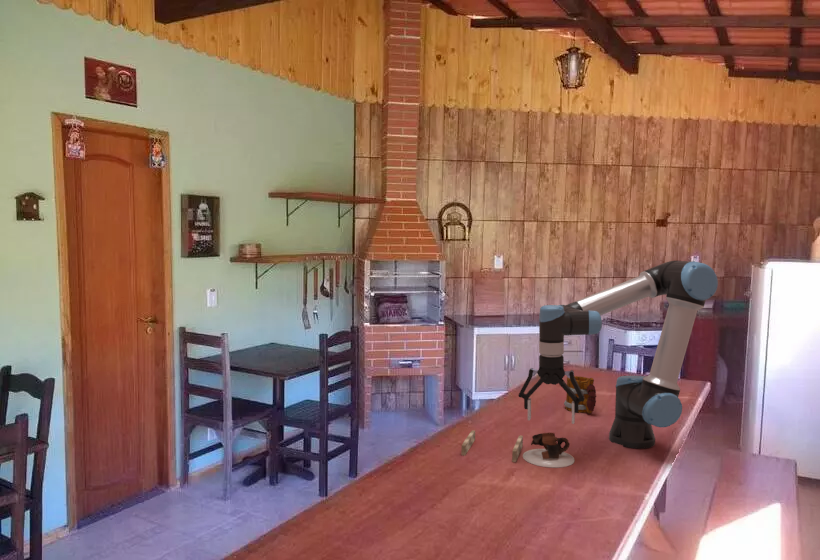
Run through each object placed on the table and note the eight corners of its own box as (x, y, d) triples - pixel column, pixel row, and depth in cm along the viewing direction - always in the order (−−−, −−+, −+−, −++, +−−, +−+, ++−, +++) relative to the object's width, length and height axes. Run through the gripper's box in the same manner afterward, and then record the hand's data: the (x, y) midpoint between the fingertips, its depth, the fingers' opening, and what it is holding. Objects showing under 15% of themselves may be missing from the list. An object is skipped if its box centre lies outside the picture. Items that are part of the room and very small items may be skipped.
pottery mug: (533, 460, 197) (528, 434, 200) (535, 464, 205) (530, 439, 209) (572, 455, 195) (566, 428, 198) (572, 459, 203) (567, 433, 207)
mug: (581, 404, 263) (582, 369, 262) (605, 415, 247) (606, 378, 246) (559, 406, 260) (560, 371, 259) (581, 418, 244) (583, 380, 243)
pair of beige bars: (471, 440, 216) (471, 430, 216) (522, 445, 211) (522, 435, 211) (461, 455, 201) (461, 445, 201) (515, 462, 196) (516, 451, 196)
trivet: (575, 452, 205) (575, 452, 205) (573, 470, 190) (573, 469, 190) (526, 447, 210) (526, 446, 210) (519, 463, 195) (519, 463, 195)
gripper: (592, 354, 197) (592, 420, 199) (513, 350, 205) (513, 414, 206) (592, 358, 190) (591, 427, 192) (509, 355, 197) (509, 421, 199)
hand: (551, 420), depth 199 cm, fingers open, 13 cm apart
